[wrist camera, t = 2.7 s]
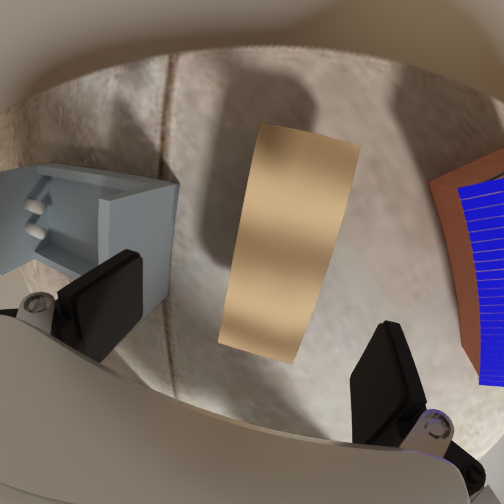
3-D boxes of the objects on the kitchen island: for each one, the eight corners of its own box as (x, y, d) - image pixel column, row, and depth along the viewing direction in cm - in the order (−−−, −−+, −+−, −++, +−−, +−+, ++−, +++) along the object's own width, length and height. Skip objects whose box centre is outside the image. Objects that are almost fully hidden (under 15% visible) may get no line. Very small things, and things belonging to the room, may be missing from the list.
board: (295, 341, 23) (292, 363, 20) (228, 322, 24) (217, 342, 21) (353, 148, 17) (360, 146, 14) (268, 127, 18) (260, 122, 15)
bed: (168, 294, 29) (115, 347, 20) (51, 247, 32) (-2, 272, 22) (179, 183, 25) (109, 201, 15) (50, 162, 27) (-11, 173, 18)
